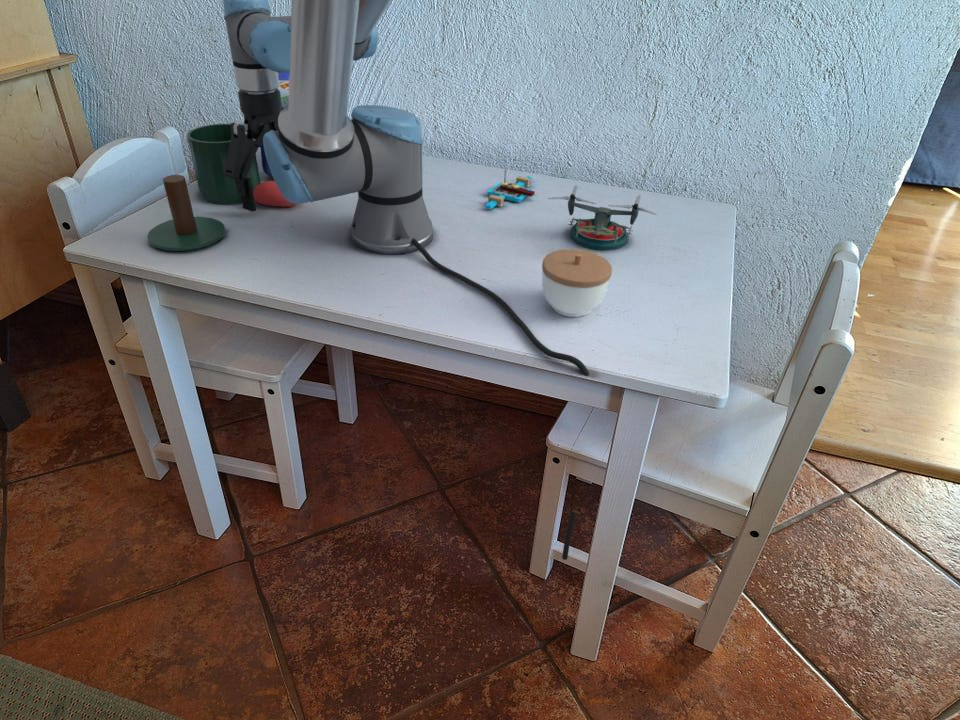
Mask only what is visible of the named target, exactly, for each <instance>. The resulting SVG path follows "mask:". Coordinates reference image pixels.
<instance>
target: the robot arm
mask: <svg viewBox="0 0 960 720" xmlns="http://www.w3.org/2000/svg"><path fill="white" fill-rule="evenodd" d="M392 2H393V0H291V10H290V11H291V12H290V15H281V16H271V14H272V11H271V8H270V5H269V0H222V5H223V14H224V15H223V20H224V21H225V27H226V32H227V37H228V42H229V48H230V54H231V60H232V66H233V72H234V77H235V84H236V88H237V89H239V90H238V91H237V98H238V103H239V109H240V112H241V113H242V115H243V118H244V119H243V122H241V123H237V122H231V123H230V124H231V140H230V146H229V151H228V157H227V162H226V167H225V173H224V175H225V176H226V177H229V178H232V179H235V181H236V187H237V192H238V194H239V195H241V199H242V203H241V204H242V209H244V210H245V211H246V210H247V211H249V212H252V213H254V212H256V211H257V208H256V203H255V202H256V201H255V199H254V196H253V190H252V184H251V179H250V178H247V175H248V173H249V170H250V168H251V165H252V163H253V160H254V157H255V155H256V156H257V152H258V150H259V148H260V147H261V145H262V143H263V145H264V151H265V155H266V159H267V162H268V165H269V168H270V171H271V174H272V178H273V181H275V183H276V185H277V187H278V189H279V191H280V192H281V194H282V195H283V197H284V198H285V199H286V200H287V201H289V202H291V203H295V204H296V205H297V204H298V205H299V204H306V203H314V202H318V201H323V200H327V199H332V198H336V197H341V196H345V195H351V194H354V193H355V194H356V193H357V202H356V206H355V210H354V213H353V214H354V215H353V217H352V222H351V227H350V234H351V235H350V236H351V240H352V242H353V243H354V245H355V246H357V247H359V248H360V249H362V250H365V251H367V252H372V253H376V254H383V255H397V254H398V255H399V254H406V253H411V252H416V251H419V253H421V254H422V255H423V257H424V258H425V259H426V261H427V262H429V264H430V265H432V266H433V267H435V268H436V269H437V270H439V271H440V272H442V273H445V274H447V275H449V276H451V277H453V278H455V279H457V280H459V281H461V282H463V283H464V284H466V285H468V286H469V287H472V288H474V289H475V290H478V291H480V292H481V293H483V294H484V295H487V297H489V298H491V299H492V300H493V301H495V303H497V304H498V305H499V306H500V307H501V308H502V309H503V310H504V311H505V312H506V313H507V314H508V315H509V317H510V318H511V319H512V321H514V323H515V324H516V325H517V326H518V327H519V328H520V329H521V331H522V332H523V333H524V335H525V336H526V338H527V339H528V341H530V343H531V344H532V345H534V347H535V348H536V349H538V350H539V351H540V352H541V353H543V354H544V355H546V356H547V357H550V358H553V359H556V360H561V361H565V362H569V363H571V364H573V365H575V367H576V368H578V369H579V371H580V372H581V374H582V375H583V376H586V377H589V376H590V375H591V374H590V372H589V370H588V368H587V367H586V365H585V364H584V363H583V362H582V361H581V360H580V359H578V358H577V357H576V356H573V355H569V354H567V353H563V352H557V351H553V350H551V349H549V348H548V347H547V346H546V345H544V344H543V343H542V342H541V341H540V340H539V339H538V338H537V337H536V336H535V335H534V333H533V332H532V331H531V329H530V328H529V326H527V324H526V323H525V322H524V321H523V320H522V319H521V317H519V316H518V315H517V313H516V312H515V311H514V310H513V308H511V306H510V305H509V304H508V303H507V302H506V301H505V300H504V299H502V298H501V297H500V296H499V295H497V294H496V293H495V292H493V291H492V290H490V289H489V288H487V287H485V286H483V285H481V284H480V283H478V282H476V281H474V280H472V279H470V278H468V277H466V276H465V275H463V274H461V273H459V272H457V271H455V270H453V269H451V268H448V267H446V266H444V265H443V264H441V263H439V262H438V261H437V260H436V259H434V258H433V256H431V255H430V253H429V252H428V251H427V250H426V249H425V247H426V246H427V245H429V244H430V243H431V242H432V240H433V237H434V228H433V223H432V220H431V218H430V215H429V212H428V210H427V206H426V202H425V199H424V196H423V144H424V140H423V132H422V124H421V121H420V120H419V118H418V116H417V115H416V114H414V113H412V112H410V111H408V110H405V109H401V108H398V107H393V106H389V105H388V106H387V105H379V104H361V105H357V106H354V107H353V108H352V110H351V113H350V117H349V115H348V107H349V97H350V88H351V79H352V73H353V71H352V69H353V63H354V62H353V61H355V62H356V61H360V60H361V59H369V58H371V57H373V56H374V55H375V54H376V52H377V50H378V44H379V32H378V31H379V30H378V27H377V25H378V23H379V22H380V21H381V19H382V17H383V16H384V14H385V13H386V11H387V9H388V8H389V6H390V5H391V4H392ZM278 72H279V73H287V72H290V76H289V105H288V106H286V107H285V108H284V107H282V101H281V94H280V91H279V90H278V89H277V88H278V87H279V79H278ZM246 131H247V132H246ZM252 137H253V140H251V139H252ZM240 172H241V173H240ZM576 515H577V513H576V512H574V511H572V510H570V512H569V517H568V521H567V526H566V532H565V536H564V537H565V538H564V543H563V547H562V548H563V549H562V556H561V558H562V560H564V561H566V560H568V558H569V552H570V545H571V539H572V534H573V530H574V525H575V520H576Z"/></svg>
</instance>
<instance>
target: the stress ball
mask: <svg viewBox="0 0 960 720" xmlns="http://www.w3.org/2000/svg"><path fill="white" fill-rule="evenodd" d="M253 196H254V201H255V202H257V203H258V204H260V205H263V206H271V207H282V208H283V207H284V208H285V207H286V208H287V207H294V206H296V205H297V204H295V203H291V202H289V201H287V200H286V199H285V198H284V197H283V195H282V194H281V192H280V191H279V189H278V187H277V185H276V183H275V181H274V180H267V181H266V180H265V181H262V182H261V183H260V184H258V185H257V186H256V187H255V189H254V191H253Z"/></svg>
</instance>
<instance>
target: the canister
mask: <svg viewBox="0 0 960 720" xmlns="http://www.w3.org/2000/svg"><path fill="white" fill-rule="evenodd" d="M246 132H247V131H246ZM186 138H187V143H188V146H189V147H188V148H189V151H190V155H191V156H190V157H191V161H192V164H193V169H194V174H195V178H196V183H197V185H198V186H197V187H198V191H199V196H200V198H201V199H202V200H203V201H205V202H207V203H210V204H213V205H214V204H215V205H237V204H242V199H241V195H239V194H238V192H237V187H236V181H235V179H232V178H229V177H226V176H225V175H224V173H225V167H226V162H227V157H228V151H229V146H230V140H231V123H213V124H207V125H202V126H199V127H198V126H197V127H195V128H193V129H191V130H189V131H188V132H187V133H186ZM251 140H254V139H253V137H252V139H251ZM240 173H241V172H240ZM260 176H261V175H260V172H259V166H258V160H257V154H256V155H255V157H254V160H253V163H252V165H251V168H250V170H249V173H248V175H247V178H250V179H251V184H252V190H253V191H254V189H255V187H256V186H257V185H258V184H260V183H262V182H261V177H260Z"/></svg>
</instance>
